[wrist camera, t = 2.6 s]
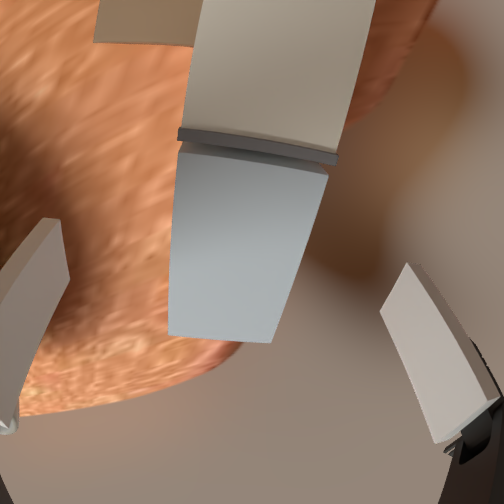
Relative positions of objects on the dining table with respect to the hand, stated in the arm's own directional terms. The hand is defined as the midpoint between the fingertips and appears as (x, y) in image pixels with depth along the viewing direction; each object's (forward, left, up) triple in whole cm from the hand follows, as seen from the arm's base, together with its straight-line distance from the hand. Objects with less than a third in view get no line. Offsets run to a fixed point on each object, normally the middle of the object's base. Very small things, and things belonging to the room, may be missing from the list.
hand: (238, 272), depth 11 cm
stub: (0, +1, -11) cm, 11 cm away
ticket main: (-3, +9, -11) cm, 15 cm away
